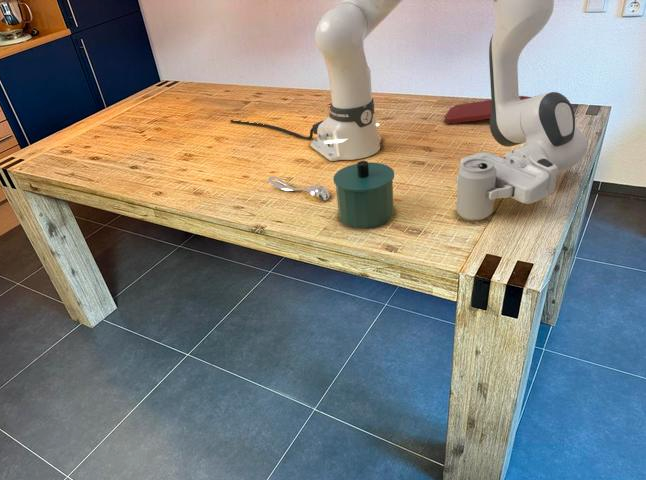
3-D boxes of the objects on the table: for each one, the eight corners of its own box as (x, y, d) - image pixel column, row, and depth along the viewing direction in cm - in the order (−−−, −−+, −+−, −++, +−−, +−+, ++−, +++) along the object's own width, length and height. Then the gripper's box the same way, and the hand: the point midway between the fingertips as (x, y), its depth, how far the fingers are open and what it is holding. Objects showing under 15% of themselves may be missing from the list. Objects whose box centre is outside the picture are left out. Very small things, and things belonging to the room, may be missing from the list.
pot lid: (322, 188, 113) (320, 171, 111) (353, 163, 121) (351, 147, 118) (375, 198, 105) (374, 181, 103) (404, 171, 113) (404, 154, 111)
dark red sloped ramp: (445, 135, 155) (535, 125, 142) (443, 119, 153) (535, 108, 140) (453, 120, 164) (539, 109, 150) (451, 105, 161) (539, 93, 148)
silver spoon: (262, 174, 135) (274, 167, 138) (264, 186, 138) (275, 179, 140) (320, 194, 124) (332, 185, 127) (321, 206, 126) (333, 198, 129)
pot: (329, 222, 118) (325, 185, 113) (356, 197, 125) (353, 162, 120) (376, 233, 111) (374, 194, 106) (402, 206, 119) (401, 169, 113)
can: (494, 221, 108) (499, 170, 101) (457, 223, 109) (460, 172, 102) (490, 204, 113) (494, 154, 106) (455, 205, 115) (457, 156, 108)
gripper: (488, 141, 117) (440, 159, 113) (564, 169, 101) (511, 191, 98) (486, 166, 121) (439, 184, 117) (559, 196, 105) (508, 219, 101)
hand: (473, 188), depth 107 cm, fingers closed on can, 7 cm apart
